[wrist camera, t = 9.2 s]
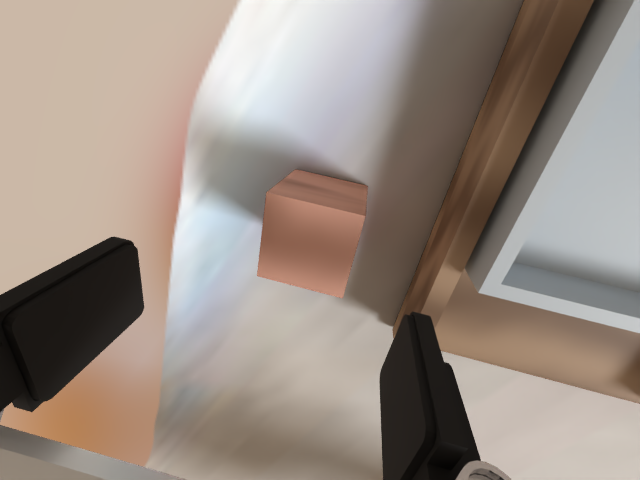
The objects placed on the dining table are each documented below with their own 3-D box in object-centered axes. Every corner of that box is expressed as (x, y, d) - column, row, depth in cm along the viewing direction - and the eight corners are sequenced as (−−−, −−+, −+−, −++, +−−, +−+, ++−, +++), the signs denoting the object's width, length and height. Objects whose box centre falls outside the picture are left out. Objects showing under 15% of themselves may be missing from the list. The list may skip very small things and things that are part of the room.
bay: (647, 396, 22) (717, 469, 18) (392, 329, 24) (397, 381, 19) (1019, 48, 12) (1393, 13, 8) (537, -35, 14) (618, -105, 9)
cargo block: (350, 250, 21) (342, 298, 16) (285, 234, 22) (256, 276, 16) (367, 185, 19) (365, 216, 14) (295, 169, 20) (266, 192, 14)
